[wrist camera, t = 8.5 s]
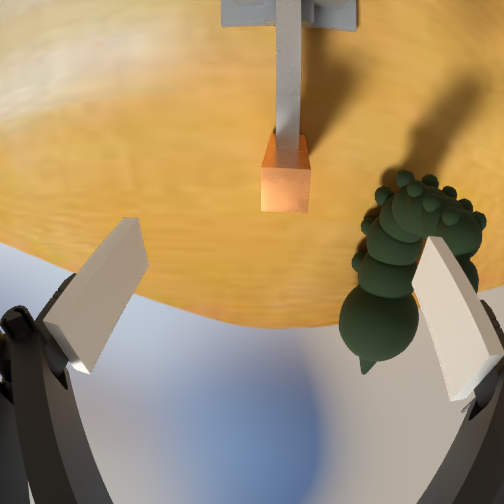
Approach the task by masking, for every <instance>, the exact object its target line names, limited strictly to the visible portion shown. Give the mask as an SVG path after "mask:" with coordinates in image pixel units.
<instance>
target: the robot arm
mask: <svg viewBox="0 0 504 504" xmlns="http://www.w3.org/2000/svg"><path fill="white" fill-rule="evenodd" d="M148 267H149V263H148V259H147V255H146V251H145V247H144V242H143V238H142V234H141V229H140V225H139V220H138V218H123V219H122V220H121V222H120V223H119V224H118V225H117V226H116V227H115V228H114V230H113V231H112V232H111V233H110V234H109V235H108V236H107V238H106V239H105V240H104V241H103V242H102V243H101V245H100V246H99V247H98V248H97V249H96V251H95V252H94V253H93V254H92V256H91V257H90V258H89V259H88V260H87V262H86V263H85V264H84V265H83V267H82V268H81V269H80V270H79V272H78V273H77V274H76V273H74V274H72V275H71V276H70V277H68V278H67V279H66V280H64V282H63V283H62V284H61V286H60V287H59V288H58V291H56V292H55V294H54V295H53V298H51V299H50V300H49V301H48V303H47V304H46V306H45V307H44V308H43V310H42V311H41V313H40V314H39V315H38V317H37V318H36V320H35V321H34V319H33V318H32V316H31V314H30V313H29V311H28V309H27V308H25V306H20V305H19V306H15V307H13V308H11V309H9V310H8V311H7V312H6V313H5V314H4V315H3V317H2V318H1V321H0V326H1V327H2V329H3V330H4V331H5V333H6V334H2V332H1V331H0V375H1V376H2V381H1V382H0V504H30V499H29V489H28V482H29V485H30V489H31V492H32V496H33V499H34V502H35V504H113V502H112V500H111V498H110V496H109V493H108V491H107V489H106V487H105V485H104V482H103V480H102V478H101V475H100V473H99V470H98V468H97V465H96V463H95V460H94V457H93V455H92V452H91V449H90V447H89V443H88V441H87V438H86V435H85V431H84V428H83V425H82V422H81V419H80V416H79V412H78V408H77V405H76V401H75V397H74V393H73V389H72V385H71V381H70V377H69V372H68V370H67V368H66V367H65V366H66V365H67V363H68V361H70V363H71V364H72V366H73V367H74V368H75V369H76V370H79V371H82V372H85V373H88V374H91V372H92V370H93V368H94V366H95V364H96V362H97V360H98V358H99V356H100V354H101V352H102V350H103V348H104V346H105V344H106V342H107V340H108V338H109V336H110V334H111V333H112V331H113V329H114V327H115V325H116V323H117V322H118V320H119V318H120V316H121V314H122V312H123V310H124V308H125V307H126V305H127V303H128V301H129V300H130V298H131V296H132V295H133V293H134V291H135V289H136V288H137V286H138V284H139V282H140V281H141V279H142V277H143V276H144V274H145V272H146V270H147V269H148ZM412 286H413V288H414V291H415V293H416V296H417V298H418V301H419V304H420V306H421V309H422V311H423V314H424V317H425V320H426V323H427V326H428V328H429V331H430V334H431V337H432V340H433V343H434V346H435V350H436V353H437V356H438V359H439V362H440V365H441V369H442V373H443V376H444V380H445V384H446V388H447V391H448V395H449V399H450V401H455V400H460V399H465V398H466V397H467V396H468V395H469V394H470V393H471V392H472V391H473V390H474V392H475V396H476V397H475V398H474V399H473V400H472V401H471V402H470V403H469V404H468V405H467V406H466V407H465V408H464V409H463V410H462V411H461V412H462V413H464V412H465V411H466V410H467V409H468V411H467V414H466V416H465V418H464V420H463V423H462V425H461V427H460V429H459V431H458V434H457V435H456V437H455V440H454V441H453V444H452V445H451V447H450V449H449V451H448V453H447V455H446V457H445V459H444V461H443V463H442V464H441V466H440V467H439V469H438V471H437V473H436V474H435V476H434V478H433V479H432V481H431V483H430V484H429V486H428V487H427V489H426V491H425V492H424V493H423V495H422V496H421V498H420V499H419V501H418V502H417V504H504V333H503V331H502V329H501V328H500V325H499V323H498V321H497V320H496V317H495V315H494V313H493V311H492V309H491V308H490V307H489V306H488V304H487V303H486V302H485V301H484V300H479V298H478V296H477V294H476V292H475V291H474V289H473V287H472V285H471V284H470V282H469V280H468V278H467V277H466V275H465V273H464V271H463V270H462V268H461V267H460V265H459V263H458V262H457V260H456V258H455V257H454V255H453V254H452V252H451V251H450V249H449V247H448V246H447V244H446V243H445V241H444V240H443V238H442V237H434V236H428V239H427V242H426V245H425V248H424V250H423V253H422V256H421V259H420V262H419V265H418V267H417V270H416V273H415V275H414V278H413V280H412Z"/></svg>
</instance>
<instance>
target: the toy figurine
mask: <svg viewBox="0 0 504 504" xmlns="http://www.w3.org/2000/svg"><path fill="white" fill-rule="evenodd" d="M395 179H396V183H397V185H398V186H399V187H401V188H400V190H399V191H398V192H397V193H396V194H395V195H394V193H393V191H392V190H391V189H390V188H389V187H385V186H382V187H380V188H377V190H376V192H375V200H376V202H377V203H378V205H381V206H382V208H381V211H380V215H379V216H378V217H377V218H376V219H375V218H372V217H366V218H365V219H364V220H363V221H362V223H361V230H362V232H363V233H364V234H365V235H367V237H366V243H367V249H368V252H366V251H360V252H357V253H355V255H354V257H353V259H352V267H353V268H354V270H355V271H356V272H358V279H359V285H358V286H357V287H355V288H354V289H353V290H352V291H351V292H350V293H349V294H348V296H347V297H346V299H345V301H344V303H343V305H342V308H341V312H340V316H339V331H340V334H341V337H342V339H343V341H344V342H345V344H346V345H347V347H348V348H349V349H350V350H351V351H352V352H353V353H354V354H355V355H357V356H359V359H360V366H361V372H362V374H366V373H367V372H368V371H369V370H370V369H371V368H372V367H373V366H374V364H375V363H376V362H377V361H384V360H388V359H391V358H393V357H395V356H397V355H398V354H400V353H401V352H403V351H404V350H405V349H406V348H407V347H408V346H409V344H410V343H411V342H412V340H413V338H414V336H415V333H416V331H417V326H418V321H419V314H418V307H417V304H416V301H415V299H414V297H413V296H412V292H413V291H414V288H413V286H412V280H413V278H414V275H415V273H416V270H417V264H416V259H417V258H418V256H419V254H420V252H421V248H422V237H423V238H425V239H426V240H427V239H428V236H434V237H442V238H443V240H444V241H445V243H446V244H447V246H448V247H449V249H450V251H451V252H452V254H453V255H454V257H455V258H456V260H457V262H458V263H459V265H460V267H461V268H462V270H463V271H464V273H465V275H466V277H467V278H468V280H469V282H470V284H471V285H472V287H473V289H474V291H475V292H476V294H477V291H478V283H479V278H478V273H477V269H476V267H475V265H474V264H473V263H472V262H471V261H470V258H471V257H472V256H474V254H475V253H476V252H477V251H478V249H479V248H480V245H481V242H482V230H483V229H484V228H485V227H486V222H487V221H486V217H485V215H484V214H482V213H480V212H477V211H475V212H473V205H472V203H471V202H470V201H469V200H467V199H465V198H464V199H461V200H459V201H457V200H456V198H457V192H456V190H455V189H454V188H453V187H450V186H445V187H444V188H443V190H442V191H441V190H440V189H438V186H439V182H438V180H437V177H435V176H433V175H428V174H427V175H425V176H424V177H423V178H422V182H420V181H418V180H415V179H414V175H413V174H412V172H409V171H407V170H404V169H403V170H401V171H399V172H398V173H397V175H396V178H395Z"/></svg>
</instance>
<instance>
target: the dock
mask: <svg viewBox="0 0 504 504" xmlns="http://www.w3.org/2000/svg"><path fill="white" fill-rule="evenodd" d="M221 26H222V27H238V26H276V0H221ZM301 27H312V28H324V29H333V30H342V31H349V32H355V31H356V0H301Z"/></svg>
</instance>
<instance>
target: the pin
mask: <svg viewBox="0 0 504 504" xmlns="http://www.w3.org/2000/svg"><path fill="white" fill-rule="evenodd" d="M300 93H301V0H276V133H271V135H270V139H269V142H268V146H267V149H266V153H265V156H264V160H263V163H262V167H261V211H272V212H291V213H307V214H308V203H309V191H310V178H311V167H310V161H309V156H308V151H307V145H306V140H305V135H301V134H299V126H300Z"/></svg>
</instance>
